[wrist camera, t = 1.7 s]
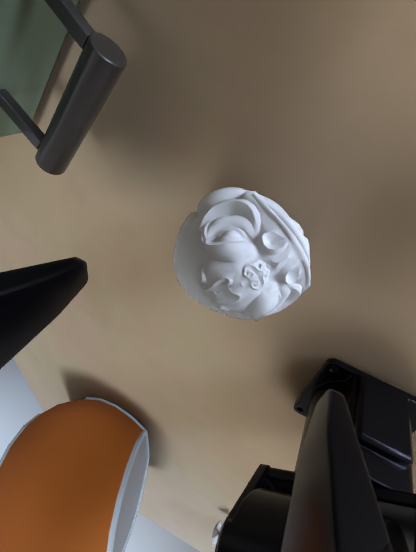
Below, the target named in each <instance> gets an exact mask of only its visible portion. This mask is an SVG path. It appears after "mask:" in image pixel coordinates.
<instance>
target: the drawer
mask: <svg viewBox="0 0 416 552" xmlns="http://www.w3.org/2000/svg"><path fill="white" fill-rule="evenodd" d="M78 2H79V0H0V137H3V136H8V135H12V134H17V133H23V134H24V135H25V136H26V137H27V138H28V140H29V141H30V142H31V143H32V144H33V145H34V146H35V148H36V149H38V151H37V153H36V157H35V158H36V162H37V164H38V165H39V167H40V168H41V169H43V170H44V171H45V172H47V173H50V174H53V175H60V174H62V173H64V172H65V170H66V169H67V167H68V165H69V164H70V162H71V160H72V158H73V157H74V155H75V153H76V151H77V150H78V148H79V146H80V144H81V143H82V141H83V139H84V138H85V136H86V134H87V132H88V131H89V129H90V127H91V125H92V124H93V122H94V120H95V119H96V117H97V115H98V113H99V112H100V110H101V108H102V106H103V105H104V103H105V101H106V99H107V98H108V96H109V94H110V93H111V91H112V89H113V87H114V86H115V84H116V82H117V80H118V79H119V77H120V75H121V74H122V72H123V70H124V68H125V67H126V62H127V61H126V57H125V55H124V53H123V52H122V50H121V49H120V48H119V47H118V46H117V44H116V43H114V42H113V41H112V40H111V39H110V38H108V37H107V36H105V35H103V34H101V33H98V32H95V31H94V30H93V29H92V27H91V26H90V25H89V23H88V22H87V21H86V19H85V18H84V17H83V15H82V14H81V13H80V11H79V10H78V9H77V4H78ZM67 30H68V31H69V33H70V34H71V35H72V37H73V38H74V39H75V41H76V42H77V43H78V44H79V46H80V47H81V48H82V49H83V51H82V53H81V55H80V57H79V59H78V62H77V64H76V66H75V68H74V71H73V73H72V75H71V77H70V80H69V82H68V84H67V86H66V89H65V91H64V93H63V95H62V97H61V100H60V102H59V104H58V106H57V109H56V111H55V113H54V115H53V118H52V120H51V122H50V124H49V127H48V129H47V131H46V133H45V134H44V133H43V132H42V131H41V130H40V129H39V127H38V126H37V125H36V124H35V123H34V121H33V117H34V115H35V112H36V110H37V107H38V105H39V102H40V99H41V97H42V94H43V92H44V89H45V87H46V84H47V81H48V79H49V76H50V74H51V71H52V69H53V66H54V63H55V61H56V58H57V56H58V53H59V51H60V48H61V45H62V43H63V40H64V38H65V35H66V33H67Z"/></svg>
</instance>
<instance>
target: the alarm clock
mask: <svg viewBox="0 0 416 552" xmlns="http://www.w3.org/2000/svg"><path fill="white" fill-rule="evenodd" d="M149 456H150V454H149V443H148V432H147V430H146V429H145V428H144V427H143V426H142V425H141V424H140V423H139V422H138V421H137V420H136V419H135V418H134V417H133V416H132V415H130V414H129V413H127V412H126V411H124V410H123V409H122V408H120V407H119V406H117V405H115V404H113V403H111V402H108V401H106V400H104V399H101V398H93V397H86V398H85V399H81V400H75V401H71V402H66V403H62V404H58V405H56V406H54V407H53V408H51V409H49V410H47V411H45V412H43V413H42V414H38V415H36V416H35V417H34V418H33V419H31V420H30V421H29V422H28V423H26V424H25V425H24V426H23V427H22V428H21V430H20V431H19V432H18V433H17V435H16V436H15V437H14V439H13V440H12V441H11V443H10V444H9V445H8V447H7V449H6V450H5V452H4V454H3V456H2V458H1V460H0V552H124V551H125V548H126V546H127V543H128V541H129V538H130V535H131V532H132V529H133V526H134V523H135V519H136V516H137V513H138V509H139V505H140V501H141V497H142V493H143V489H144V485H145V480H146V475H147V470H148V465H149Z"/></svg>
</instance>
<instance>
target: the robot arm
mask: <svg viewBox="0 0 416 552" xmlns="http://www.w3.org/2000/svg"><path fill="white" fill-rule="evenodd" d="M87 281H88V272H87V263H86V262H85V261H83V260H82V259H80V258H77V257H73V258H68V259H63V260H58V261H53V262H49V263H44V264H39V265H34V266H29V267H25V268H20V269H15V270H10V271H5V272H0V369H1V368H2V367H3V366H4V365H5V364H6V363H7V362H9V360H11V358H13V357H14V356H15V355H16V354H17V353H18V352H19V351H20V350H21V349H23V348H24V347H25V346H26V345H27V344H28V343H29V342H30V341H31V340H32V339H33V338H34V337H35V336H37V335H38V334H39V333H40V332H41V331H42V330H43V329H44V328H45V327H46V326H47V325H48V324H50V323H51V322H52V321H53V320H54V319H55V318H56V317H57V316H58V315H59V314H60V313H61V312H62V311H63V310H64V308H65V307H66V306H67V305H68V304H69V303H70V302H71V301H72V299H73V298H74V297H75V296H76V295H77V294H78V293H79V291H80V290H81V289H82V288H83V287H84V286H85V284H86V283H87ZM333 366H335V367H333ZM294 410H295V411H296V412H298V413H299V414H301V415H303V416H305V417H307V418H306V422H305V426H304V431H303V435H302V440H301V444H300V449H299V453H298V458H297V462H296V467H295V471H294V472H293V471H288V470H282V469H277V468H271V467H270V466H269V465H264V464H260V465H259V467H258V469H257V470H256V472H255V473H254V475H253V477H252V478H251V480H250V481H249V483H248V485H247V486H246V488H245V489H244V491H243V493H242V494H241V496H240V497H239V499H238V501H237V502H236V504H235V505H234V507H233V509H232V510H231V512H230V513H229V515H228V517H227V518H226V520H225V522H224V524H223V526H222V528H221V530H220V533H219V535H218V540H217V544H216V549H215V552H416V494H414V493H413V478H412V464H413V449H412V434H411V433H413V432H414V431H416V397H414V396H412V395H410V394H408V393H406V392H404V391H402V390H400V389H397V388H395V387H393V386H391V385H389V384H387V383H385V382H383V381H381V380H379V379H377V378H375V377H373V376H370V375H368V374H366V373H364V372H362V371H360V370H358V369H356V368H354V367H352V366H350V365H348V364H346V363H343V362H341V361H339V360H337V359H333V358H331V359H328V360H326V362H325V363H324V364H323V366H322V367H321V368H320V370H319V371H318V372H317V374H316V375H315V376H314V378H313V379H312V380H311V382H310V383H309V384H308V386H307V387H306V388H305V389H304V391H303V392H302V393H301V395H300V396H299V397H298V399H297V400H296V401H295V404H294Z"/></svg>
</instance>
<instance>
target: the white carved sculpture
mask: <svg viewBox="0 0 416 552" xmlns="http://www.w3.org/2000/svg"><path fill="white" fill-rule="evenodd" d="M309 251H310V248H309V242H308V239H307V238H306V237H304V236H303V230H302V228H301V227H300V225H299V224H298V223H297V222H296V221H294V220H293V219H291V218H290V217H289V216H288V215H287V213H286V212H285V211H284V210H283V209H282V208H281V207H280V206H279V205H278V204H277V203H276V202H274V201H272V200H271V199H269V198H267V197H264V196H262V195H259V194H258V193H257V192H256V191H248V190H243V189H241V188H237V187H227V188H222V189H218V190H215V191H213V192H211V193H210V194H208V195H207V196H205V197H204V198H203V199H202V200H201V201H200V202H199V204H198V207H197V212H193V213H191V214H189V216H188V217H187V218H186V220H185V221H184V223H183V225H182V227H181V229H180V232H179V235H178V238H177V241H176V245H175V250H174V255H173V263H174V269H175V273H176V276H177V279H178V281H179V282H180V284H181V286H182V287H183V288H184V290H185V291H186V292H187V294H188V295H189V296H190V297H192V298H193V299H194V300H195V301H197V302H198V303H200V304H202V305H203V306H205V307H207V308H209V309H211V310H214V311H216V312H220V313H223V314H225V315H227V316H230V317H234V318H239V319H247V318H252V319H253V320H255V321H258V320H259V319H261V318H262V317H264V316H267V315H270V314H273V313H276V312H279V311H281V310H283V309H284V308H286V307H288V306H289V305H291V304H292V303H294V302H295V301H296V300H297V299H298V298H299V296H300V294H301V293H302V292H304V291H305V289H307V288H309V286H310V279H311V276H310V254H309Z"/></svg>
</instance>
